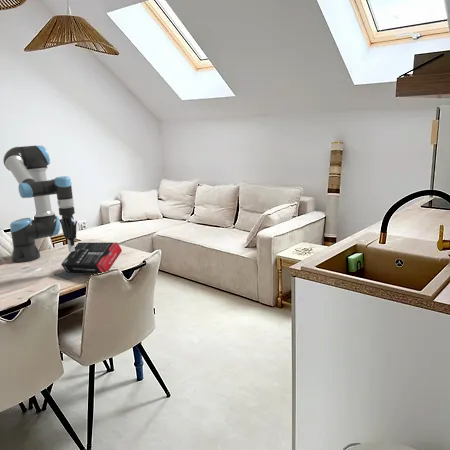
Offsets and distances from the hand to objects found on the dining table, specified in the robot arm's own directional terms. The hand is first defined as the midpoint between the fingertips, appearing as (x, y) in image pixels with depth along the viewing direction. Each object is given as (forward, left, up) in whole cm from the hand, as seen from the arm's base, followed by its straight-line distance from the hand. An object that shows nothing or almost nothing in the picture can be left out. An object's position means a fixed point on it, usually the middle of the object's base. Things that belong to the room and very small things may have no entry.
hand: (72, 251), depth 222 cm
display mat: (+3, +1, -11) cm, 11 cm away
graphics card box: (-2, +1, -4) cm, 5 cm away
